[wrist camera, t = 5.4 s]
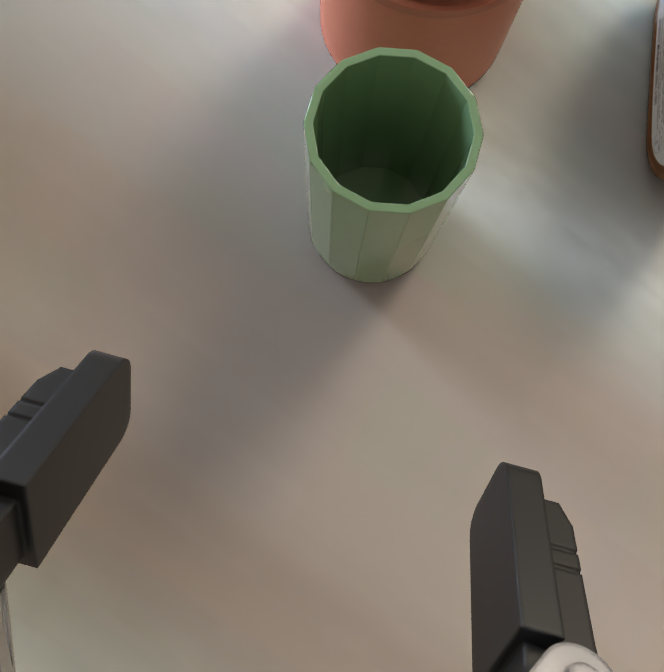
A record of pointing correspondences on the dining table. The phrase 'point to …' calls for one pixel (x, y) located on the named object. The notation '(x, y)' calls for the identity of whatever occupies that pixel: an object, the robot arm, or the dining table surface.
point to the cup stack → (421, 29)
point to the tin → (657, 96)
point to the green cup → (386, 159)
